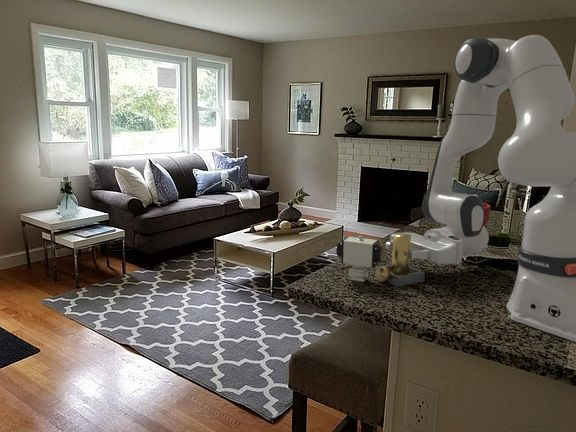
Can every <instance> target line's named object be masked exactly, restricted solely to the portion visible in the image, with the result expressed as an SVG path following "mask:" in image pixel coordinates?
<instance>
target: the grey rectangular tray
mask: <svg viewBox="0 0 576 432" xmlns="http://www.w3.org/2000/svg"><path fill="white" fill-rule="evenodd" d="M391 271H392V264H388V265H380V266H375V277H376V280H377V281H378V282H380V283H383V282H387V283H389V284H391V285H393V286H394V287H402V286H403V287H404V286H407V285H412V284H418V283H425V275H426V273H425V271H423V270H421V269H417V268H416V267H413V266H410V265H409V272H408V273H410V274H404V275H399V276H398V275H396V274H394V273H391Z"/></svg>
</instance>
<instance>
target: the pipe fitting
mask: <svg viewBox="0 0 576 432" xmlns="http://www.w3.org/2000/svg"><path fill="white" fill-rule="evenodd" d="M395 233H396V234H394V236H393V249H392V254H391V255H392V256H391V257H392V258H391V265H392V271H391V273H394V274H396V275H398V276H399V275H404V274H410V273H408V272H409V266H410V257H409V251H410V242H411V235H409V234H405V233H406V232H395Z"/></svg>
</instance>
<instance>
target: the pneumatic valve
mask: <svg viewBox="0 0 576 432" xmlns="http://www.w3.org/2000/svg"><path fill="white" fill-rule="evenodd" d="M336 245H337V246H336V250H335V251H336V255H337V256H336V257H338V258H340V264H344V265H352V267H351V268H349V270H348V277H349V279H350V280H351V282H352V281H353V282H358V283H364V282H366V280H367V281H368V280H370V278H371V271H370V270H369V268H373V269H374V268H376V267H377V266H378V264H382V263H383V262H384V258H385V251H386V249H385V245H384V246H383V245H382V244H381V241H380V239H371V238H364V237H363V235H359V236H358V237H354V236H346V237H344V238H343V239H342V240H339V241H338V243H337V244H336Z"/></svg>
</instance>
